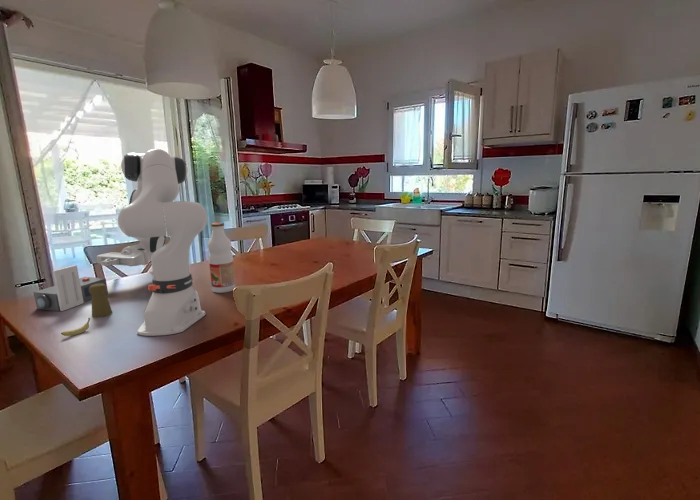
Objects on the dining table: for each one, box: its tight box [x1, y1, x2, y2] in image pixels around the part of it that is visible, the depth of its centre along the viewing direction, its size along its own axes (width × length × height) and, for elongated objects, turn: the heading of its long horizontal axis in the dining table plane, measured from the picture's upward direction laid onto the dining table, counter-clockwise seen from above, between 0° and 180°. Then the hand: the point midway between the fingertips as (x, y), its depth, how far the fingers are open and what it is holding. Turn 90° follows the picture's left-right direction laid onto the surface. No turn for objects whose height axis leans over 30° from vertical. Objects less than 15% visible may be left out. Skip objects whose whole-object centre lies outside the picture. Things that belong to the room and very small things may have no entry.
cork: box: [89, 284, 113, 318], centre depth 129 cm, size 6×6×11 cm
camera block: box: [33, 276, 109, 312], centre depth 143 cm, size 22×11×7 cm, turn 164°
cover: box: [52, 264, 85, 312], centre depth 136 cm, size 8×2×15 cm, turn 164°
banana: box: [60, 317, 91, 337], centre depth 114 cm, size 8×2×4 cm, turn 150°
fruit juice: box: [207, 222, 236, 294], centre depth 151 cm, size 9×9×28 cm
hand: (104, 263), depth 149 cm, fingers closed
